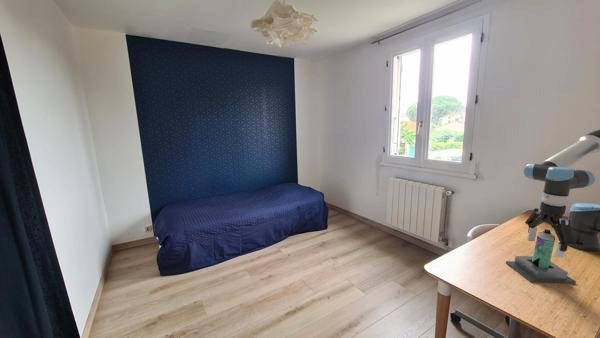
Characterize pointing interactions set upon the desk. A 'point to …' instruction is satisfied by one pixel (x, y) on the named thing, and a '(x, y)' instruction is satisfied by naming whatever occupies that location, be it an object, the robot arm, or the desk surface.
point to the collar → (539, 271)
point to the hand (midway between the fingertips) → (544, 248)
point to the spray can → (543, 249)
